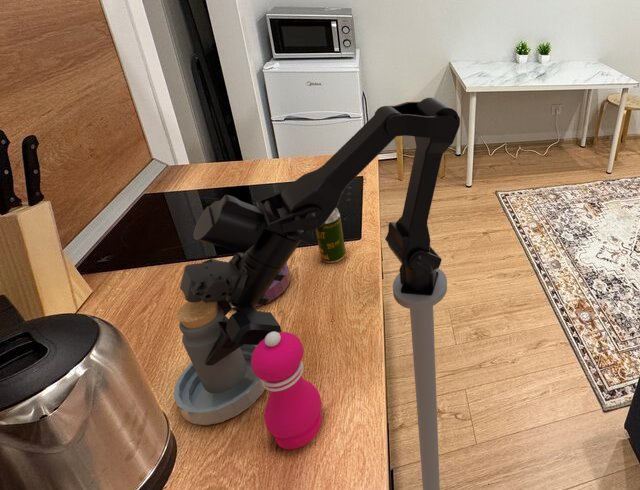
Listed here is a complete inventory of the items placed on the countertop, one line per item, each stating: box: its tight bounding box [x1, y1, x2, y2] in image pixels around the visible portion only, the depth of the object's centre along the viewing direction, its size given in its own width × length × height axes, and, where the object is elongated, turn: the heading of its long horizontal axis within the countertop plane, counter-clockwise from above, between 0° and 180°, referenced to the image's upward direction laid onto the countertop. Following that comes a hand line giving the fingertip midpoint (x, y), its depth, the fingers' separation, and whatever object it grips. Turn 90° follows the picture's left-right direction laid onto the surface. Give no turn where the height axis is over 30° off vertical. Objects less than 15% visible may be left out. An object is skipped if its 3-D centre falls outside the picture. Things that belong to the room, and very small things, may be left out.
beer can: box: [314, 207, 347, 264], centre depth 92 cm, size 5×5×12 cm
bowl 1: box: [173, 344, 266, 426], centre depth 66 cm, size 12×12×4 cm
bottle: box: [176, 301, 247, 393], centre depth 62 cm, size 6×6×15 cm
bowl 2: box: [254, 262, 291, 308], centre depth 84 cm, size 12×12×4 cm
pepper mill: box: [251, 331, 322, 451], centre depth 57 cm, size 7×7×20 cm
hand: (202, 351), depth 61 cm, fingers closed on bottle, 6 cm apart
